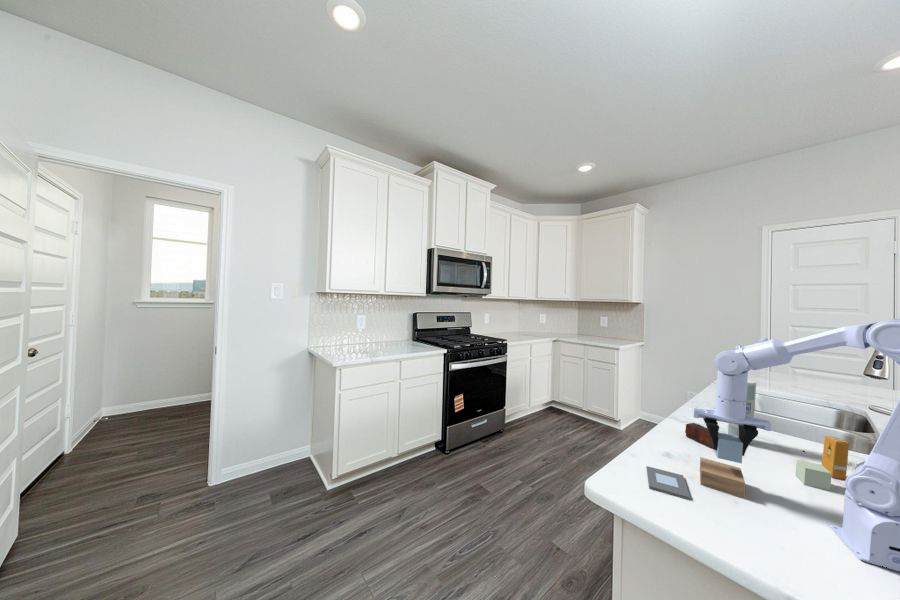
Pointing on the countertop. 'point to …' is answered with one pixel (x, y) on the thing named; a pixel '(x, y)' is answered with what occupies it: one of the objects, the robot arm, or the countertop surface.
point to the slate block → (729, 447)
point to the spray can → (750, 406)
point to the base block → (722, 477)
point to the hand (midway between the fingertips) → (727, 451)
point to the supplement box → (835, 456)
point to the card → (667, 482)
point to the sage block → (813, 475)
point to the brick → (698, 434)
